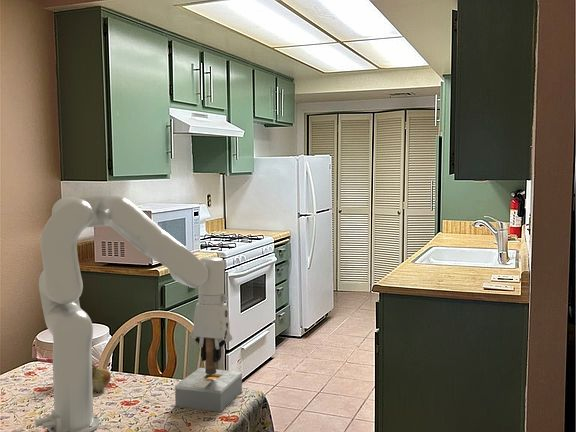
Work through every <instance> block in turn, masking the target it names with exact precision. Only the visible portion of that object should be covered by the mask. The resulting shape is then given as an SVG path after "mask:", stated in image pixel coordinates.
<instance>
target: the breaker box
mask: <svg viewBox="0 0 576 432" xmlns="http://www.w3.org/2000/svg"><path fill="white" fill-rule="evenodd" d="M208 377H218V379H217V380H213V379H206V378H208ZM174 386H175V387H174V388H175V390H174V391H175V392H174V395H175V396H174V397H175V399H174V400H175V404H174V406H175V407H178V408H179V407H180V408H187V409H194V410H195V409H196V410H202V411H209V412H216V413H221V412H222V411H223V410H225V409H226V407H228V406H229V405H230V404H231V403H232V401H234V400H235V399H236V398H237V397H238V395H240V394H241V393H242V392H243V372H242V371H233V370H226V369H225V370H224V369H217V368H216V373H215V374H206V373H205V367H198V368H197V369H196V370H195V371H193V372H192V373H191V374H189V375H187V376H186V377H185V378H184V379H182V380H181V381H180V382H178V383H177V384H176V385H174Z"/></svg>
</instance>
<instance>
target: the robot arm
mask: <svg viewBox="0 0 576 432" xmlns="http://www.w3.org/2000/svg"><path fill="white" fill-rule="evenodd" d="M51 208H52V209H51V216H50V217H49V218H48V220H47V221H46V223H45V224H44V227H43V229H42V232H41V236H40V252H41V260H42V268H43V270H42V271H41V273H40V275H39V277H38V289H39V296H40V301H41V307H42V312H43V317H44V322H45V325H46V328H47V329H48V331H49V333H51V336H52V341H53V342H52V343H53V344H52V345H53V347H52V378H53V379H52V380H53V410H51V411H50V412H51V413H50V414H49V415H47V416H46V417H41V418H40V417H39V418H36V419H34V427H35V428H38V427H41V428H42V429H47V428H48V432H94V430H96V429H97V428H98V427H99V426H100V424H101V421H100V420H101V419H100V417H99V416H98V415H96V414H94V398H93V397H94V395H93V394H94V393H93V392H94V391H93V386H92V365H93V358H92V353H93V351H92V350H93V344H92V341H93V337H94V326H93V322H92V319H91V317H90V316H89V314H88V313H87V312H86V311H85V310H83V309H82V308H81V304H80V297H81V296H82V293H83V289H84V284H83V283H84V282H83V279H82V278H83V277H82V273H81V269H80V268H81V267H80V262H79V256H78V239H79V237H80V235H81V234H82V232H83V231H84V230H85V229H87V228H94V227H95V228H97V227H111V228H112V229H113V230H114V231H116V232H117V233H118V234H119V235H120V236H121V237H122V238H124V239H125V240H126V241H127V242H129V243H130V245H132V246H133V247H134V248H135V249H137V250H138V251H139V252H140V253H142V254H143V255H145V256H146V257H147V258H149V259H151V260H154V261H156V262H158V263H159V264H160V265H162V266H164V267H165V268H167V269H168V270H169V274H170V276H171V278H172V279H173V280H174V281H175V282H176V283H180V284H181V285H184V286H186V287H189V288H192V289H197V288H198V289H197V290H198V298H197V299H198V302H197V303H196V304H195V309H194V313H193V314H194V315H193V327H192V331H191V332H190V334H189V338H192V339H193V340H195V341H196V343H197V344H198V345H199V346H198V347H199V348H200V358H201V361H202V362H206V338H212V339H215V349H214V363H216V364H217V363H218V362H219V361H220V360H221V359H222V347H223V346H224V345H225V344H227V343H229V342H231V341H233V337H232V334H231V331H230V330H231V329H230V326H231V325H230V313H229V308H228V303H225V302H229V296H226V294H225V260H224V259H223V257H219V256H218V257H217V256H205V257H202V258H199V257H197V255H196V254H194V253H193V252H192V251H191V250H189V249H188V248H187V247H186V246H184V245H183V244H182V243H181V242H179V241H178V240H177V239H175V238H174V237H173V236H172V235H171V234H169V233H168V232H167V231H165V230H164V229H163V228H162V227H160V226H159V225H158V224H157V223H156V222H155V221H153V220H152V219H151V218H150V217H149V216H148V215H147V214H146V213H144V211H142V209H140V208H139V207H138V206H137V205H136V204H134V203H133V202H132V201H131V200H129V199H128V198H127V197H124V196H117V195H103V196H100V195H99V196H66V197H65V196H64V197H62V198H60V199H58V200H57V201H55V203H54V204H53V206H52V207H51Z"/></svg>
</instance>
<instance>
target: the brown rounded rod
mask: <svg viewBox="0 0 576 432" xmlns="http://www.w3.org/2000/svg"><path fill="white" fill-rule="evenodd" d="M214 349H215V339H212V338H206V360H205V361H204V362H205V367H204V368H205V373H206V374H215V373H216V369H217V362H216V363H214Z"/></svg>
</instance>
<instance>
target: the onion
mask: <svg viewBox="0 0 576 432" xmlns="http://www.w3.org/2000/svg"><path fill="white" fill-rule="evenodd" d="M111 378H112V377H111V372H110V371H109V370H108V369H105V368H103V367H97V366H96V364H92V386H93V392H96V393H97V392H100V391H102V390H104V389H105V388H107V387H108V385H109V384H110V382H111Z"/></svg>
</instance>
